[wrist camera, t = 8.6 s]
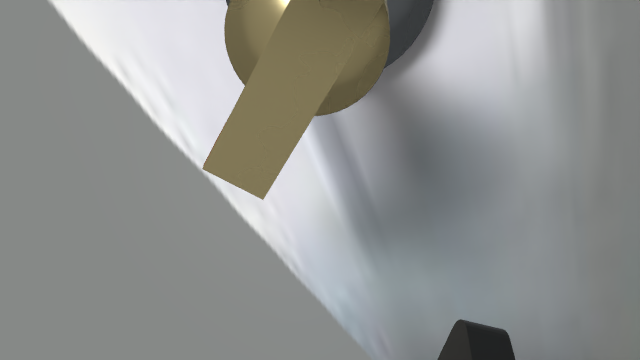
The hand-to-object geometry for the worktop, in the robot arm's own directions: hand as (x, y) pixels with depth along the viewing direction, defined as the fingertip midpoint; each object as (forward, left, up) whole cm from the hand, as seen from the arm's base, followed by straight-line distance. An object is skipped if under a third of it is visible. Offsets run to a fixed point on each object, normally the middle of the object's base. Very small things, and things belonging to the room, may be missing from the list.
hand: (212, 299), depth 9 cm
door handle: (0, +1, -17) cm, 17 cm away
